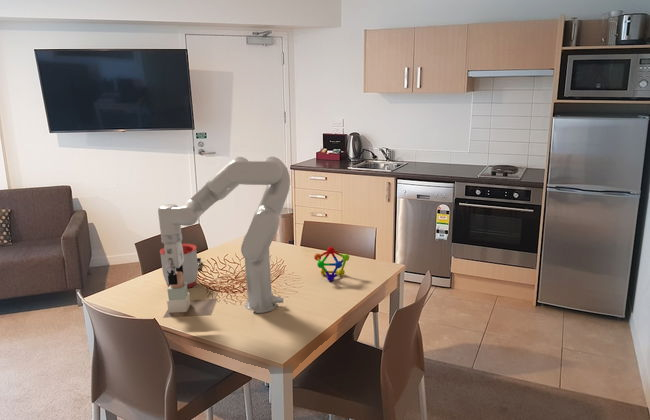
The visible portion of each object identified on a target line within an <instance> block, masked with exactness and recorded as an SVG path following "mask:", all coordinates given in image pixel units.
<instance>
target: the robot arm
mask: <svg viewBox="0 0 650 420" xmlns="http://www.w3.org/2000/svg"><path fill="white" fill-rule="evenodd" d="M290 178H291V177H290V174H289V170H288V168H287V166H286V165H285V164H284V162H283V161H282V160H281V159H280V158H278V157H276V156H268V157H266V158H264V159H263V160H261V161H256V160H254V161H252V160H251V161H250V160H248V159H247V158H245V157H243V156H237V157H236V156H235V157H234V158H232V159H231V160H230V161H229V162H228V163H227V164H226V165H225V166H223V167H222V168H221V169H220V170H219V171H218V172H217V173H216V174H215V175H214V176H212V177H211V178H210V179H209V180H208V181H207V182H206V183H205V185H204V186H202V187H201V189H199V190H198V191H197V192H196V193H195V194H194V195H193V196H192V197H190V198H189V199H188V200H187V201H186V202H185V203H183V204H182V206H178V205H177V204H174V203H173V204H172V203H171V204H163V205H160V206H159V207H158V209H157V213H158V220H159V222H158V223H159V229H160V230H159V231H160V237H161V239H160V240H161V243H162V244H163V246H164V247H163V248H164V251H165V263H166V268H167V270H168V271H167V272H168V282H169V285H177V284H178V282H177V274H176V272H177V271H180V272H182V273H183V265H182V263H183V262H184V254H183V247H182V244H183V243H182V241H183V233H182V226H185V227H187V226H188V227H189V226H190V227H191V226H193V225H195V224H196V223H197V222H198V221H199V219H200V217H201V216H202V215H203V214H204V213H205V212H206V211H207V210H208V209H210V208H211V207H212V206H213V205H215V204H216V203H217V202H218V201H221V200H223V199H225V198H226V197H227V196H228V195H230V193H232V192H233V191H234V190H236V188H237V187H238V186H240V185H245V186H247V185H250V186H251V185H252V186H253V185H255V186H258V185H259V186H264V185H265V186H266V187H265V190H264V193H263V195H262V198H261V200H260V202H259V205H258V206H257V208H256V210H255V211H254V214H253V217H252V220H251V223H250V225H249V227H248V230H247V231H246V234H245V235H244V237H243V240H242V243H241V247H240V251H241V254H242V255H241V256H242V257H243V258H244V269H245V270H244V271H245V282H246V283H245V284H246V293H247V295H246V296H247V301H246V302H245V303H244V305H243V306H244V308H245V309H246V310H249V311H253V314H264V313H267V312H270V311H273V310H274V309H275V308H277V304H278V303H279V304H283V303H284V297H281V295H277V296H276V295H274V292H272V279H271V276H272V275H271V262H270V261H271V260H270V259H271V258H270V246H271V244H272V242H273V240H274V237H275V235H276V232H277V230H278V227H279V221H280V216H281V212H282V210H283V208H284V205H285V203H286V201H287V198H288V194H289V191H290V188H291V187H290V186H291V179H290ZM171 266H174V267H171ZM171 269H174V271H173V270H171Z"/></svg>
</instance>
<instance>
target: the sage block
mask: <svg viewBox="0 0 650 420" xmlns="http://www.w3.org/2000/svg"><path fill="white" fill-rule="evenodd" d="M188 293H189V291H188V288H187V283H184V286H183V287H181V288H171V285H170V286H169V287H168V288H167V296H168V298H169V300H183V299H185V298H186V296H187V294H188ZM168 298H167V299H168Z"/></svg>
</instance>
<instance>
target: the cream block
mask: <svg viewBox="0 0 650 420" xmlns="http://www.w3.org/2000/svg"><path fill="white" fill-rule="evenodd" d="M190 300H191V296H190V292H188V294H187V296H186V298H185V299H183V300H169V298H167V300H166V304H167V310H168V313H173V312H187V310H188V308H189V306H190Z"/></svg>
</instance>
